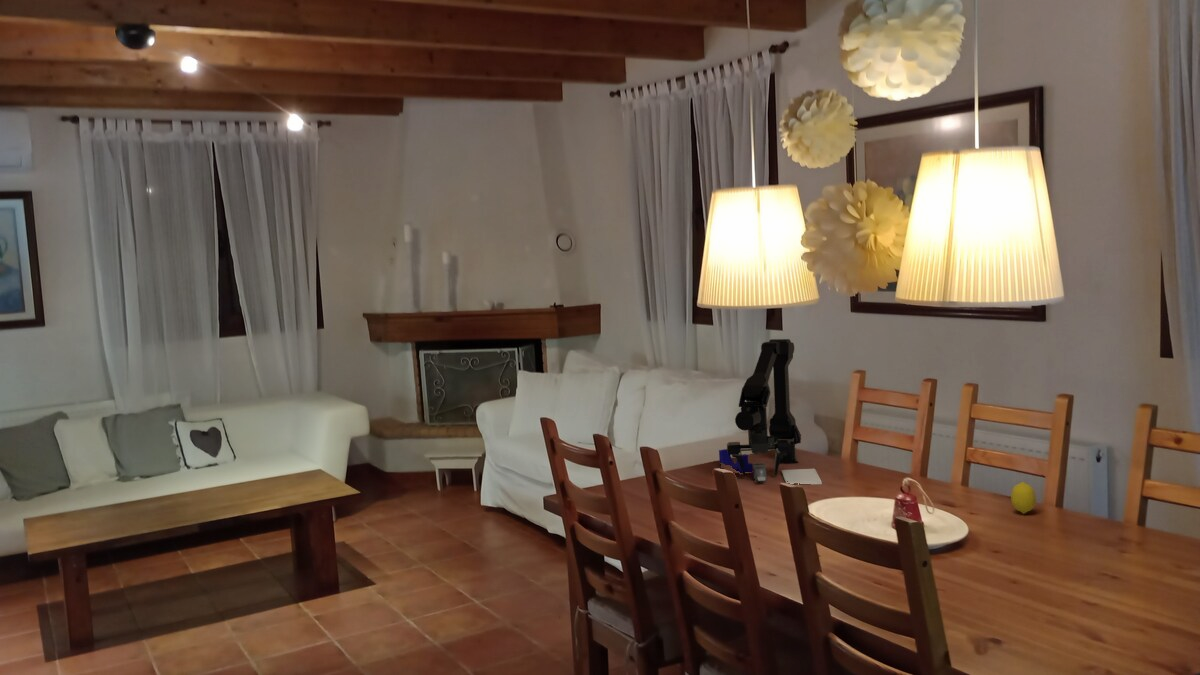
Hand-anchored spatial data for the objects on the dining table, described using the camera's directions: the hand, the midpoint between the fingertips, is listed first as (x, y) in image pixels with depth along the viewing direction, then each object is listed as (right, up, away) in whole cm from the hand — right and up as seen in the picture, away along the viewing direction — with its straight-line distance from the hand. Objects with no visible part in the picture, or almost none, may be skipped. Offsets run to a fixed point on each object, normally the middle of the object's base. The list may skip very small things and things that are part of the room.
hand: (760, 475), depth 284 cm
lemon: (+56, -2, -52) cm, 76 cm away
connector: (0, -1, -1) cm, 2 cm away
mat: (+12, -1, -2) cm, 12 cm away
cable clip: (-5, -1, +13) cm, 14 cm away
